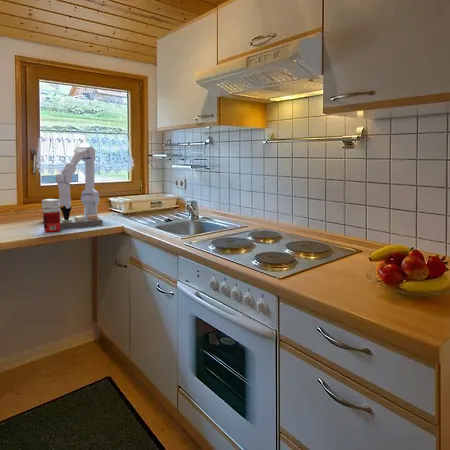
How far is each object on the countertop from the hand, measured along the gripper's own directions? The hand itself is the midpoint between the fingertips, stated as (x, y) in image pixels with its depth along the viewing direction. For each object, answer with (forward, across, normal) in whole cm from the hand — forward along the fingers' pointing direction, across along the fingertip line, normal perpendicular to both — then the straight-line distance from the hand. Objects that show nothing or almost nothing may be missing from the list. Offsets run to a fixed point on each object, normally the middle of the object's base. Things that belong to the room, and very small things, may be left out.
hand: (66, 219), depth 218 cm
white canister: (+4, -25, -4) cm, 26 cm away
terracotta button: (+2, 0, +14) cm, 14 cm away
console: (+4, 0, +7) cm, 8 cm away
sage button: (+3, 0, 0) cm, 3 cm away
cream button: (+2, 0, +7) cm, 7 cm away
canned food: (+4, +11, -9) cm, 15 cm away
